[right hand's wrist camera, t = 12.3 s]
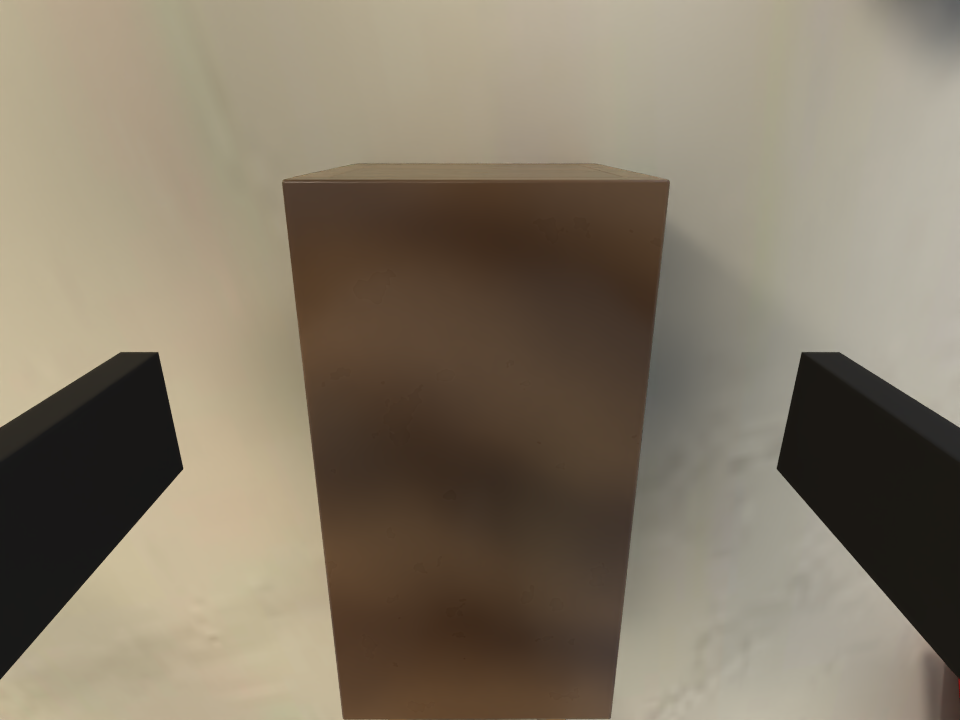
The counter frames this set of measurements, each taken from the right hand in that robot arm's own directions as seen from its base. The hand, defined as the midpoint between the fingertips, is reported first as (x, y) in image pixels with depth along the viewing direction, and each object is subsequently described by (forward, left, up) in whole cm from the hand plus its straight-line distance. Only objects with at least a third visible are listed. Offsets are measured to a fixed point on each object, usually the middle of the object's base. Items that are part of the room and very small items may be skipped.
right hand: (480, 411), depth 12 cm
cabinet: (+4, -4, -15) cm, 16 cm away
